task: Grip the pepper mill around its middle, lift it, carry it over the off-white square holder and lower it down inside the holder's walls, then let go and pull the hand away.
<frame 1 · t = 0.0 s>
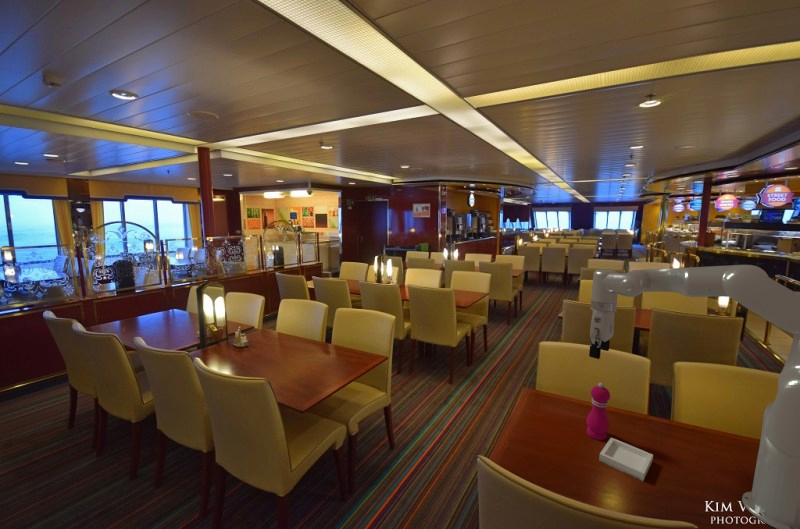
hand: (599, 353, 120), 31 cm above the table, tool pointing down, fingers open, 9 cm apart
pepper mill: (596, 435, 125), on the table
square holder: (625, 461, 112), on the table
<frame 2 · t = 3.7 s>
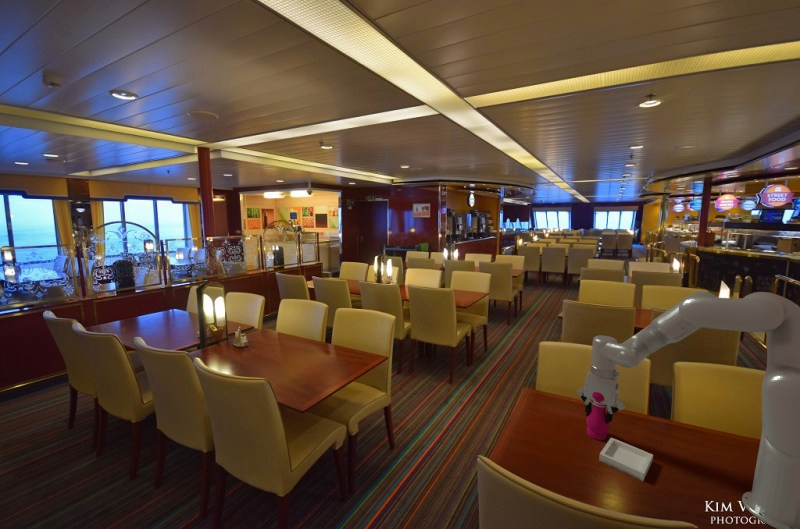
hand: (598, 417, 124), 7 cm above the table, tool pointing down, fingers closed on pepper mill, 5 cm apart
pepper mill: (596, 435, 125), on the table, touching gripper
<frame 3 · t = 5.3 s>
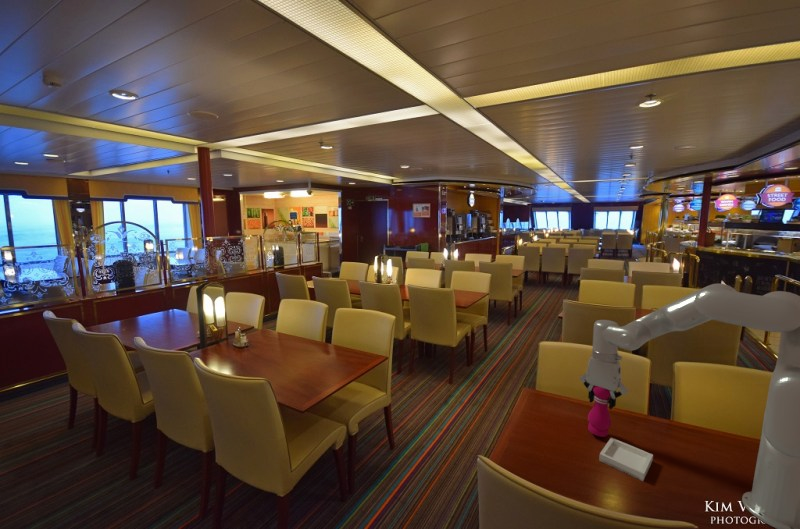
hand: (601, 403, 123), 12 cm above the table, tool pointing down, fingers closed on pepper mill, 5 cm apart
pepper mill: (597, 431, 125), point 1 cm above the table, touching gripper
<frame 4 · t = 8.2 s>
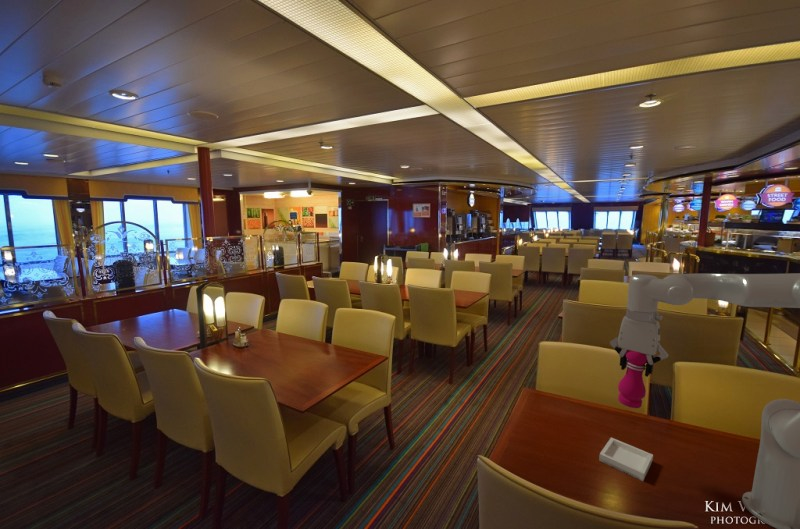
hand: (635, 371, 107), 31 cm above the table, tool pointing down, fingers closed on pepper mill, 5 cm apart
pepper mill: (629, 403, 109), point 20 cm above the table, touching gripper
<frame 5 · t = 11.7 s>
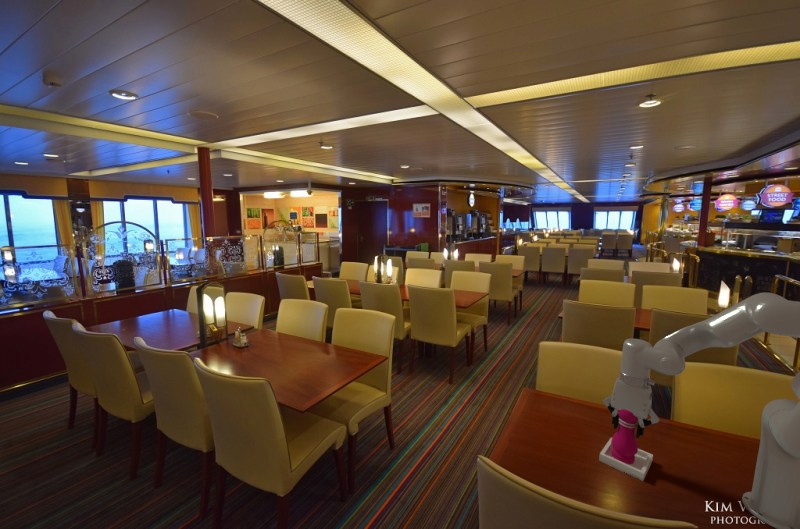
hand: (627, 431, 110), 10 cm above the table, tool pointing down, fingers open, 5 cm apart
pepper mill: (622, 458, 112), point 1 cm above the table, touching gripper, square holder
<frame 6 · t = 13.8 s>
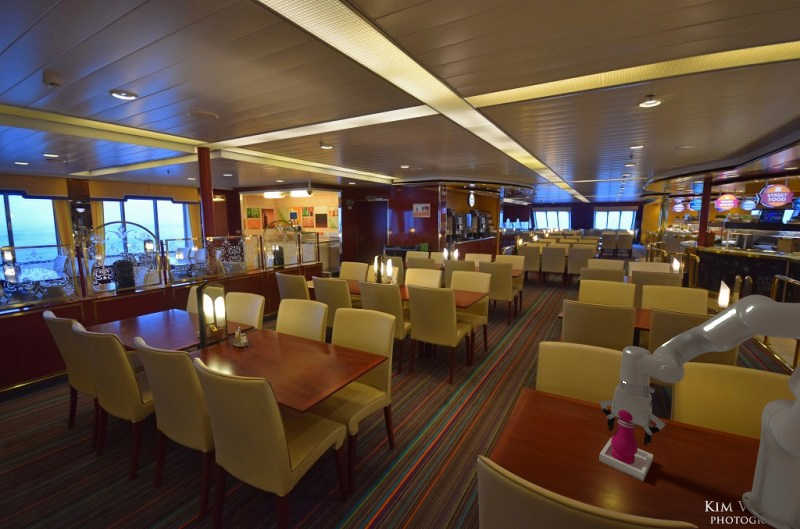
hand: (628, 436, 110), 9 cm above the table, tool pointing down, fingers open, 9 cm apart
pepper mill: (622, 458, 112), point 1 cm above the table, touching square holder
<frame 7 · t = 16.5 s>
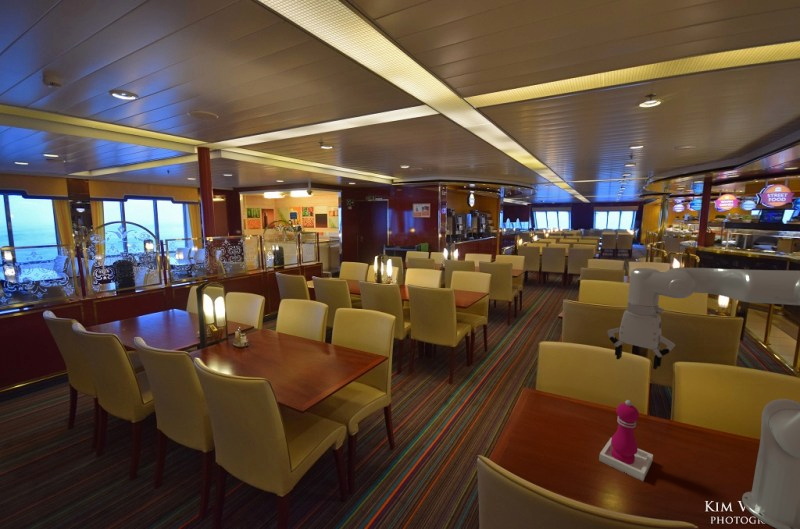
hand: (636, 362, 106), 34 cm above the table, tool pointing down, fingers open, 9 cm apart
nothing on the table moved.
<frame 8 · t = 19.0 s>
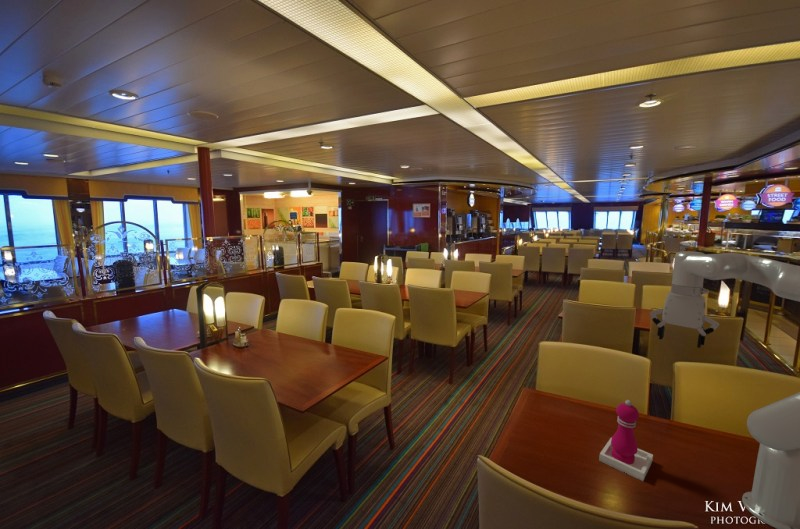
hand: (679, 342, 111), 38 cm above the table, tool pointing down, fingers open, 9 cm apart
nothing on the table moved.
at the end: pepper mill 0.9 cm off-centre on the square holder, point 0.6 cm above the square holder's base; pepper mill tilted 0°; the gripper is holding nothing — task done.
